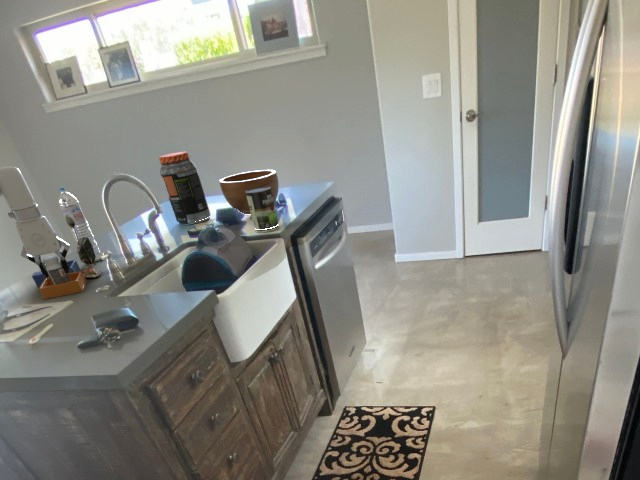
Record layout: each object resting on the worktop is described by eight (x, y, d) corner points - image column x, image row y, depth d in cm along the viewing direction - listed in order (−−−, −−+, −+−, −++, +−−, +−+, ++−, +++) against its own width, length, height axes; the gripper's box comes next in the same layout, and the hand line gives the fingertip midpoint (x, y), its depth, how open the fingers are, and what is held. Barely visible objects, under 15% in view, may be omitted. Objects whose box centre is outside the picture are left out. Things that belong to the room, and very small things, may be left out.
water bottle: (101, 256, 208) (69, 184, 191) (105, 259, 203) (72, 186, 186) (84, 261, 205) (50, 188, 188) (87, 264, 201) (52, 190, 184)
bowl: (263, 222, 221) (253, 181, 211) (218, 222, 230) (207, 183, 220) (295, 207, 236) (287, 168, 226) (251, 208, 246) (242, 171, 236)
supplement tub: (213, 214, 245) (194, 148, 228) (209, 222, 233) (188, 153, 216) (180, 219, 245) (158, 154, 228) (174, 227, 233) (151, 159, 216)
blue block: (39, 289, 182) (31, 276, 178) (41, 286, 185) (34, 272, 182) (52, 287, 182) (45, 273, 179) (54, 283, 186) (47, 269, 183)
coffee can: (285, 225, 212) (276, 186, 202) (269, 233, 205) (259, 192, 196) (265, 225, 216) (256, 186, 207) (249, 232, 210) (239, 192, 200)
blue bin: (44, 284, 187) (39, 273, 184) (49, 275, 195) (44, 265, 192) (76, 277, 188) (71, 267, 186) (80, 269, 196) (75, 259, 194)
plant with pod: (111, 269, 191) (84, 208, 178) (95, 279, 183) (65, 216, 170) (91, 271, 193) (63, 210, 179) (74, 281, 184) (44, 219, 171)
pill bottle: (77, 285, 178) (62, 254, 172) (66, 291, 174) (50, 260, 168) (64, 285, 180) (49, 255, 173) (52, 291, 176) (36, 260, 169)
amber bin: (44, 299, 172) (38, 288, 170) (50, 288, 181) (45, 278, 179) (82, 291, 174) (77, 280, 172) (86, 281, 183) (81, 270, 181)
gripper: (-5, 221, 158) (29, 282, 170) (54, 211, 161) (83, 271, 173) (1, 217, 163) (33, 276, 175) (57, 206, 166) (85, 266, 178)
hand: (57, 273), depth 174 cm, fingers closed on pill bottle, 5 cm apart
